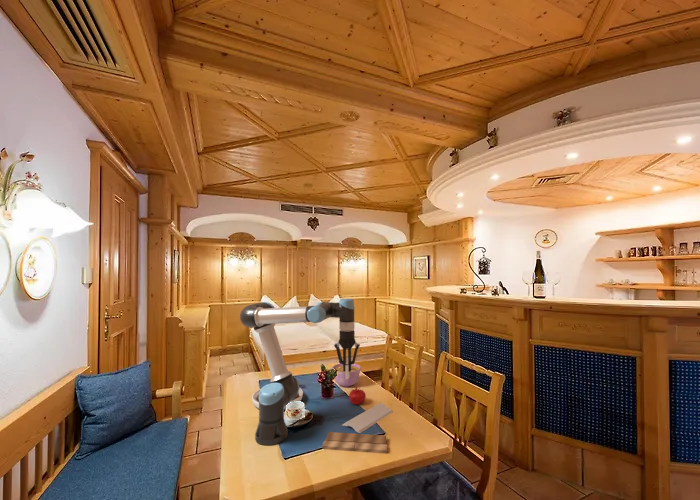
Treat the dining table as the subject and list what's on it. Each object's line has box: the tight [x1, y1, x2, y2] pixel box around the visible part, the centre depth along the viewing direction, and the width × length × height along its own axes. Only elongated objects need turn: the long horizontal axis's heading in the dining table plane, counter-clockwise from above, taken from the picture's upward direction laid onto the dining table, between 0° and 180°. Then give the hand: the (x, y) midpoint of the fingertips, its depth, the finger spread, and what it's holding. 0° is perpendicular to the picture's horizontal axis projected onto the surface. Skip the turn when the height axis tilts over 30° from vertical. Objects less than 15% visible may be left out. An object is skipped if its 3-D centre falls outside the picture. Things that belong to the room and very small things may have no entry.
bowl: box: [251, 387, 304, 411], centre depth 191 cm, size 30×30×8 cm
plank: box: [325, 431, 387, 445], centre depth 148 cm, size 28×6×1 cm, turn 82°
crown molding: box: [341, 402, 393, 434], centre depth 169 cm, size 29×12×4 cm, turn 139°
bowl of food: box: [331, 362, 361, 388], centre depth 217 cm, size 20×20×12 cm
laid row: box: [321, 439, 388, 454], centre depth 142 cm, size 29×5×1 cm, turn 82°
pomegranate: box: [348, 386, 366, 405], centre depth 189 cm, size 10×10×9 cm
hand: (347, 377), depth 156 cm, fingers closed
